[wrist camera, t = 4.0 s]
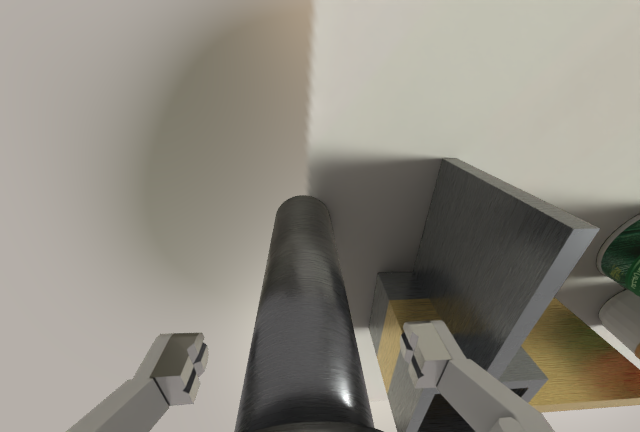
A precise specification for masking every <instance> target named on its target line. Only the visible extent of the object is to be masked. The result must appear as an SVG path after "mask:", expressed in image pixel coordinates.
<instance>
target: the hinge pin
mask: <svg viewBox="0 0 640 432" xmlns="http://www.w3.org/2000/svg"><path fill="white" fill-rule="evenodd" d="M234 432H383V431H381V430H378V429H375V428H374V424H373V419H372V414H371V409H370V405H369V400H368V395H367V390H366V386H365V381H364V376H363V371H362V367H361V362H360V357H359V352H358V348H357V343H356V338H355V334H354V329H353V324H352V319H351V315H350V310H349V305H348V300H347V296H346V291H345V286H344V281H343V277H342V272H341V267H340V263H339V258H338V253H337V248H336V244H335V239H334V234H333V229H332V225H331V220H330V215H329V212H328V209H327V208H326V206H325V205H324V204H323V203H322V202H321V201H320V200H318V199H316V198H314V197H310V196H295V197H292V198H290V199H288V200H287V201H285V202H284V203H283V204H282V205H281V206H280V207H279V209H278V211H277V214H276V219H275V224H274V229H273V234H272V239H271V244H270V250H269V255H268V260H267V265H266V270H265V275H264V281H263V286H262V291H261V296H260V301H259V307H258V312H257V317H256V322H255V328H254V333H253V338H252V343H251V348H250V354H249V359H248V364H247V369H246V374H245V379H244V385H243V390H242V395H241V400H240V406H239V411H238V416H237V421H236V426H235V431H234Z"/></svg>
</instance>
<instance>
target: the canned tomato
mask: <svg viewBox="0 0 640 432" xmlns="http://www.w3.org/2000/svg"><path fill="white" fill-rule="evenodd" d="M597 267H598V270H599V271H600V272H601V273H602V274H603V275H605V276H607V277H609V278H611V279H613V280H614V281H616V282H617V283H619V284H620V285H622V286H623V287H624V288H626V289H628V290H630V291H631V292H633V293H634V294H635V295H637V296H639V297H640V214H639V215H637V216H635V217H633V218H632V219H630V220H629V221H627V222H626V223H624V224H623V225H622V226H620V227H619V228H618V229H617V230H616V231H615V232H614V233H613V234H612V235H611V236H610V237H609V238H608V239H607V240H606V241H605V243H604V244H603V245H602V247H601V249H600V251H599V253H598V256H597Z"/></svg>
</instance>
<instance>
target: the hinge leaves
mask: <svg viewBox="0 0 640 432" xmlns="http://www.w3.org/2000/svg"><path fill="white" fill-rule="evenodd" d="M599 230H600V228H598V227H596V226H594V225H592V224H590V223H588V222H586V221H584V220H582V219H580V218H578V217H576V216H574V215H572V214H570V213H568V212H566V211H564V210H561V209H559V208H557V207H555V206H553V205H551V204H549V203H547V202H545V201H543V200H541V199H539V198H537V197H535V196H533V195H531V194H529V193H527V192H525V191H523V190H521V189H518V188H516V187H514V186H512V185H510V184H508V183H506V182H504V181H502V180H500V179H498V178H496V177H494V176H492V175H490V174H488V173H486V172H484V171H482V170H480V169H477V168H475V167H473V166H471V165H469V164H467V163H465V162H463V161H461V160H459V159H443V160H442V164H441V167H440V171H439V175H438V179H437V183H436V186H435V190H434V194H433V198H432V202H431V205H430V209H429V213H428V217H427V221H426V224H425V228H424V232H423V236H422V240H421V243H420V247H419V251H418V255H417V259H416V262H415V266H414V270H413V272H394V273H378V277H377V283H376V289H375V294H374V300H373V306H372V312H371V317H370V323H369V330H370V334H371V337H372V341H373V345H374V348H375V352H376V356H377V359H378V363H379V366H380V370H381V374H382V377H383V381H384V385H385V388H386V392H387V395H388V399H389V402H390V406H391V410H392V413H393V417H394V421H395V424H396V428H397V432H475V431H474V429H473V428H472V427H471V426H470V425H469V424H468V423H467V422H466V421H465V420H464V419H463V417H462V416H461V415H460V414H459V413H458V412H457V411H456V410H455V409H454V408H453V407H452V406H451V404H450V403H449V402H448V401H447V400H446V399H445V398H444V397H443V396H442V395H441V394H440V392H439V391H438V390H437V389H436V388H415V387H414V385H413V382H412V379H411V377H410V374H409V372H408V369H409V365H410V364H409V363H408V362H407V361H405V360H404V358H403V355H402V352H401V348H400V337H401V334H402V333H404V329H403V325H404V323H405V322H413V321H427V320H428V321H434V320H442V321H443V322H444V323H445V324H446V326H447V328H448V329H449V331H450V333H451V334H452V336H453V338H454V339H455V341H456V342H457V344H458V346H459V347H460V349H461V351H462V352H463V354H464V356H465V357H466V359H471V360H472V361H474V362H475V363H476V364H478V365H479V366H480V367H481V368H483V369H484V370H485V371H487V372H488V373H489V374H491V375H492V376H493V377H494V378H496V379H497V380H498V381H500V382H501V383H502V384H504V385H505V386H506V387H508V388H509V389H510V390H511V391H513V392H514V393H515V394H517V395H518V396H519V397H521V398H522V399H523V400H524V401H526V402H527V403H528V404H530V405H531V406H532V407H534V408H535V409H536V410H538V411H539V412H540V413H541V412H554V411H567V410H580V409H593V408H606V407H619V406H632V405H640V370H639V369H638V368H637V367H636V366H635V365H633V364H632V363H631V362H630V361H629V360H627V359H626V358H625V357H624V356H623V355H622V354H620V353H619V352H618V351H617V350H616V349H615V348H613V347H612V346H611V345H610V344H609V343H607V342H606V341H605V340H604V339H603V338H602V337H600V336H599V335H598V334H597V333H596V332H595V331H593V330H592V329H591V328H590V327H589V326H587V325H586V324H585V323H584V322H583V321H582V320H580V319H579V318H578V317H577V316H576V315H575V314H573V313H572V312H571V311H570V310H569V309H567V308H566V307H565V306H564V305H563V304H562V303H560V302H559V301H558V300H557V299H556V298H555V297H554V296H555V295H556V293H557V292H558V290H559V289H560V287H561V286H562V284H563V283H564V281H565V280H566V278H567V277H568V275H569V274H570V273H571V271H572V270H573V268H574V267H575V265H576V264H577V262H578V261H579V259H580V258H581V256H582V255H583V253H584V252H585V250H586V249H587V247H588V246H589V244H590V243H591V241H592V240H593V238H594V237H595V235H596V234H597V232H598V231H599Z"/></svg>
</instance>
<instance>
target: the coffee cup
mask: <svg viewBox="0 0 640 432" xmlns="http://www.w3.org/2000/svg"><path fill="white" fill-rule="evenodd" d="M599 319H600V320H601V321H602V324H603V326H604V327H605V328H606V329H607V330H608V331H610V332H611V333H612V334H613V335H614V336H615V337H616V338H617V339H619V340H620V341H621V342H622V343H623V344H624V345H625V346H626V347H628V348H629V349H630V350H631V351H632V352H633V353H634V354H635V356H636V357H638V358H639V359H640V297H639V296H637V295H635V294H634V293H633V292H631V291H630V290H628V289H627V290H624V291H622V292H620V293H619V294H617V295H615V296H614V297H612V298H611V299H610V300H608V301H607V302H606V303H605V304H604V305H603V306H602V308H601V310H600V311H599Z"/></svg>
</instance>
